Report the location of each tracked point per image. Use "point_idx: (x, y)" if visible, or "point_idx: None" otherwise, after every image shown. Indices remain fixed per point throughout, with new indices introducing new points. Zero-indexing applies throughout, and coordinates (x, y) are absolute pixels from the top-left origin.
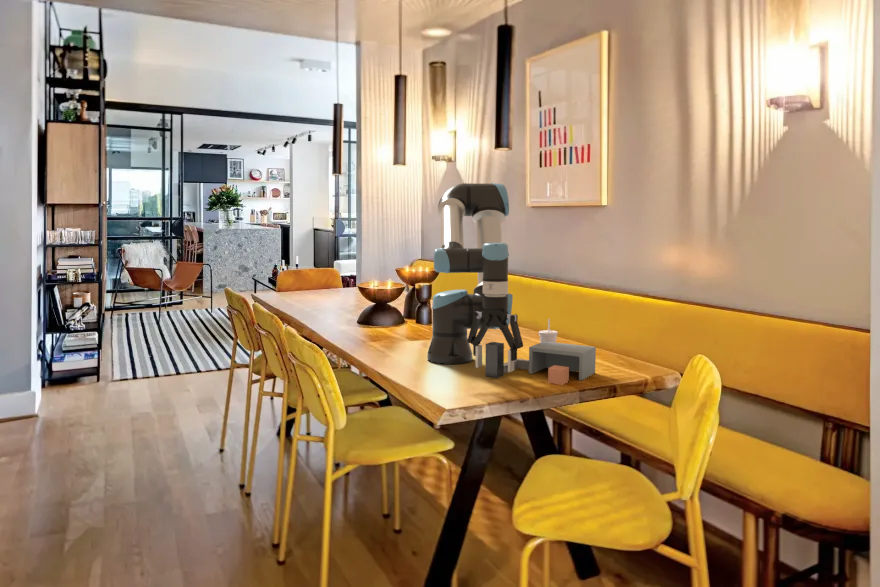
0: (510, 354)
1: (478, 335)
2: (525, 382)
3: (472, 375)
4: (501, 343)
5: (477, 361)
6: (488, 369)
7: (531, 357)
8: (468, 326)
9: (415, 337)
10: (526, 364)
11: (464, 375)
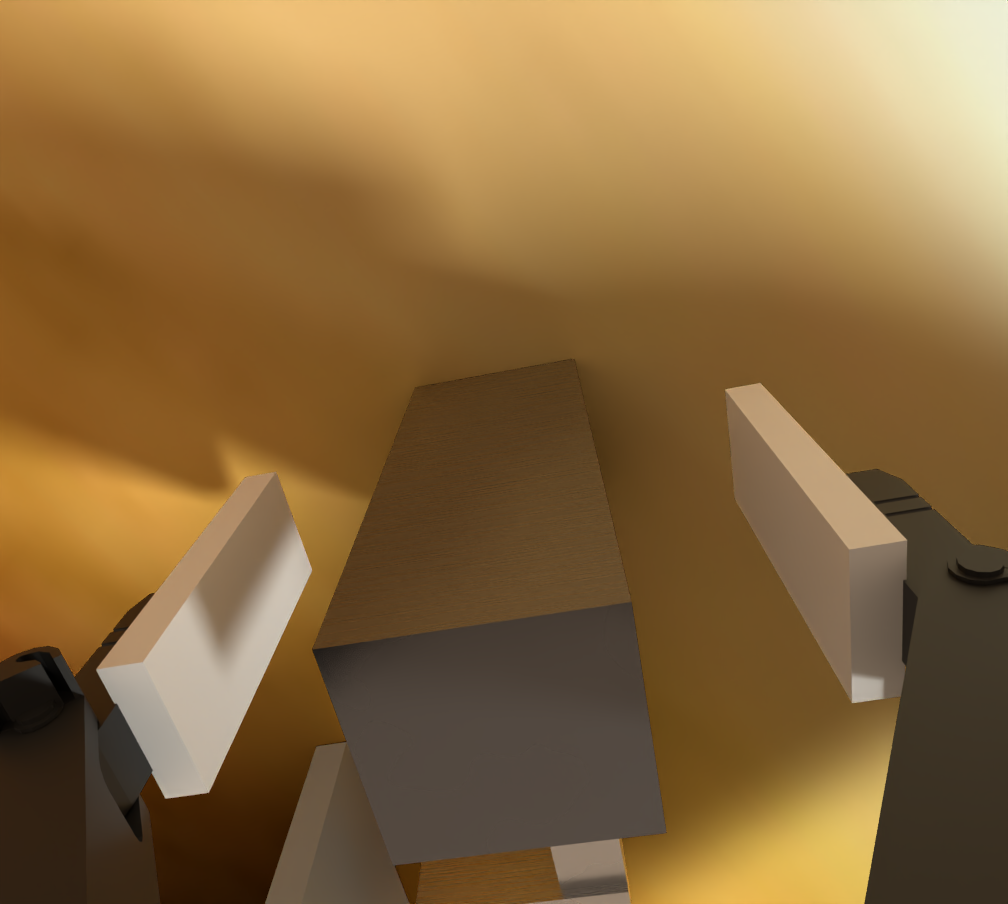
0: (141, 626)
1: (982, 757)
2: (87, 462)
3: (748, 308)
4: (403, 823)
5: (753, 420)
6: (534, 399)
7: (274, 900)
8: None
9: None
10: (466, 873)
11: (835, 235)
